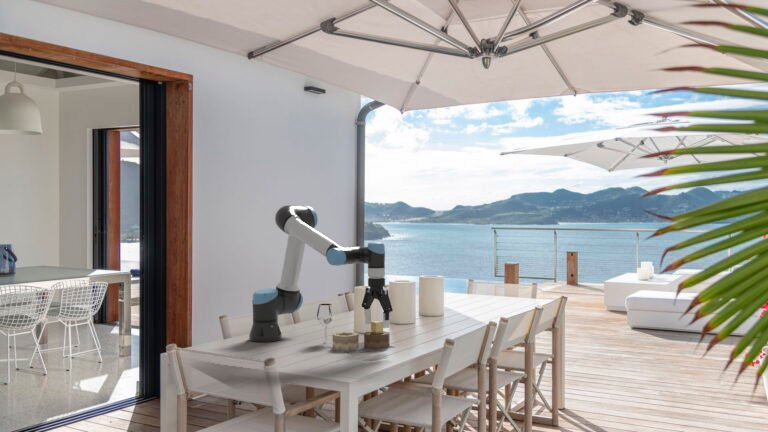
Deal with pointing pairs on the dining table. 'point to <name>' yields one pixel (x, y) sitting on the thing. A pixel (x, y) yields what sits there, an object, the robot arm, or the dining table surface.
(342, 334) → the beech bead
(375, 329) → the yellow peg
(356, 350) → the mat
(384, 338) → the walnut bead
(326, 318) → the wineglass
